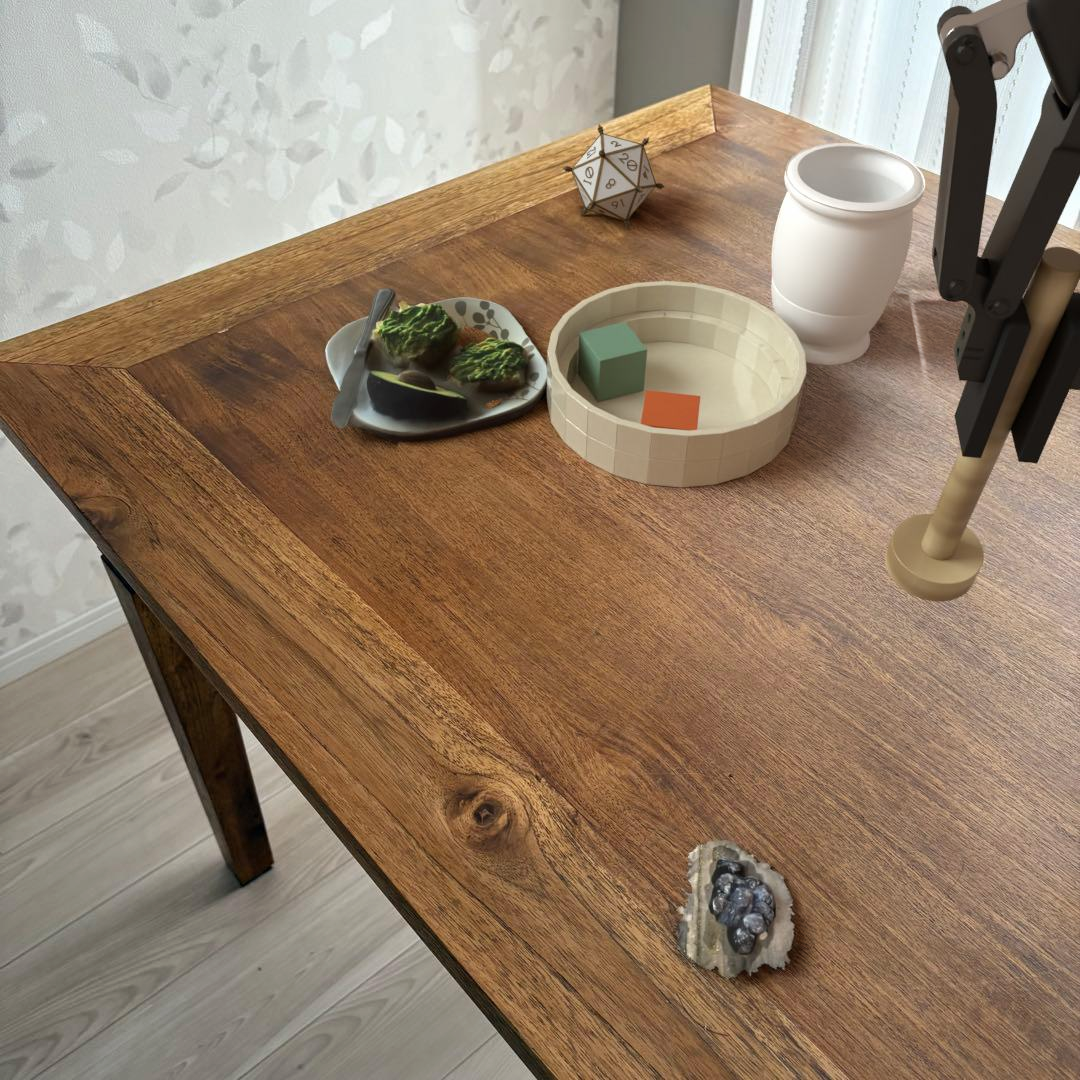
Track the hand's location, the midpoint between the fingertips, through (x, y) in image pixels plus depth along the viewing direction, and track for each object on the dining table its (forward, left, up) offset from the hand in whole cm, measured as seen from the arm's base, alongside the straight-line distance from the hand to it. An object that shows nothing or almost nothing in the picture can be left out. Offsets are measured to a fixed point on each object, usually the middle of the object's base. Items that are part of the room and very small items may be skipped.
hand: (995, 438), depth 47 cm
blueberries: (+8, +10, -25) cm, 28 cm away
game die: (+20, -60, -25) cm, 68 cm away
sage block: (+18, -33, -24) cm, 44 cm away
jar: (+1, -42, -25) cm, 49 cm away
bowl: (+13, -31, -25) cm, 42 cm away
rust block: (+13, -25, -24) cm, 37 cm away
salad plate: (+32, -32, -25) cm, 52 cm away
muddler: (0, -2, -10) cm, 10 cm away
